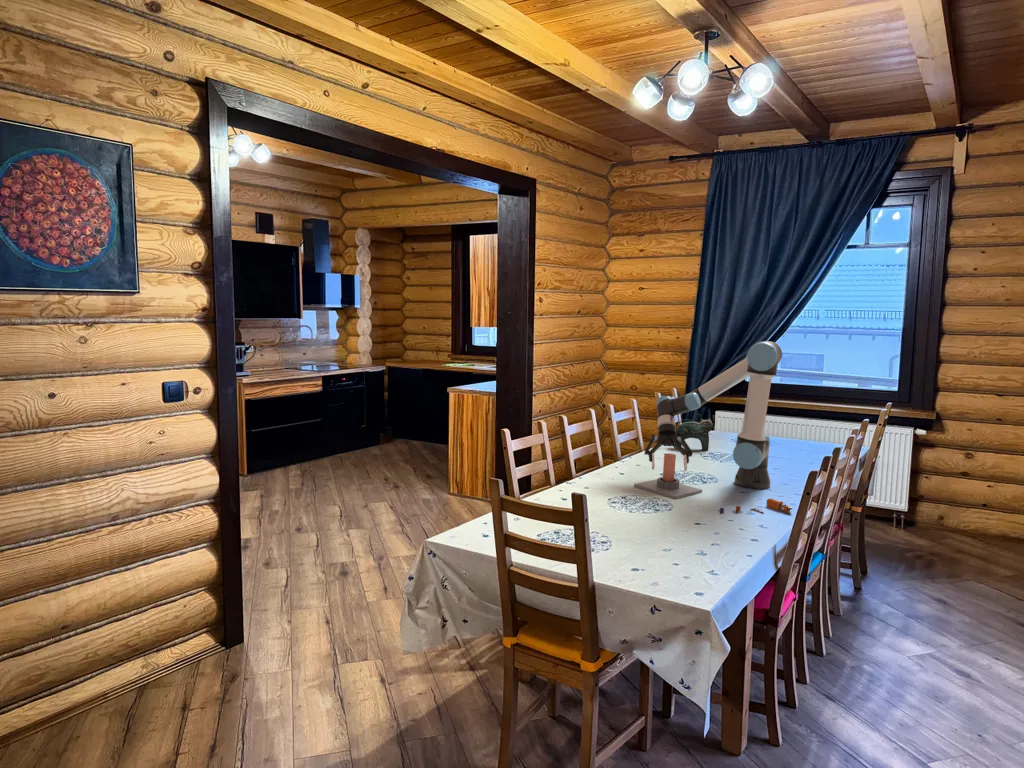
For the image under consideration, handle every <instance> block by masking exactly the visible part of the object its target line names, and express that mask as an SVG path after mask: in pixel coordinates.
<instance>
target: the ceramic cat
mask: <svg viewBox="0 0 1024 768" xmlns="http://www.w3.org/2000/svg"><path fill="white" fill-rule="evenodd" d="M698 415H699V416H700V417H701V418H700V420H699V421H694V420H692V419H689V418H687V419H682V420H680V421H679V423H678V425H677V427H676V429H675V430H676V436H677V437H681V436H683V437H684V440H685V441H686V440H687V439H697V440H699V441H700V444H701V451H703V452H704V451H705V452H709V447H710V445H709V444H710V434H709V433H710V432H711V431H712V430H713V422H712V419H711V418H710V417H709V418H708V419H703V417H702V415H701V414H700V413H696V414H695V415H694V417H696V416H698ZM684 421H685V422H684ZM677 442H678V444H679V445H680V446H681V447H683V446H682V445H681V442H679V441H678V440H677Z"/></svg>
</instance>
